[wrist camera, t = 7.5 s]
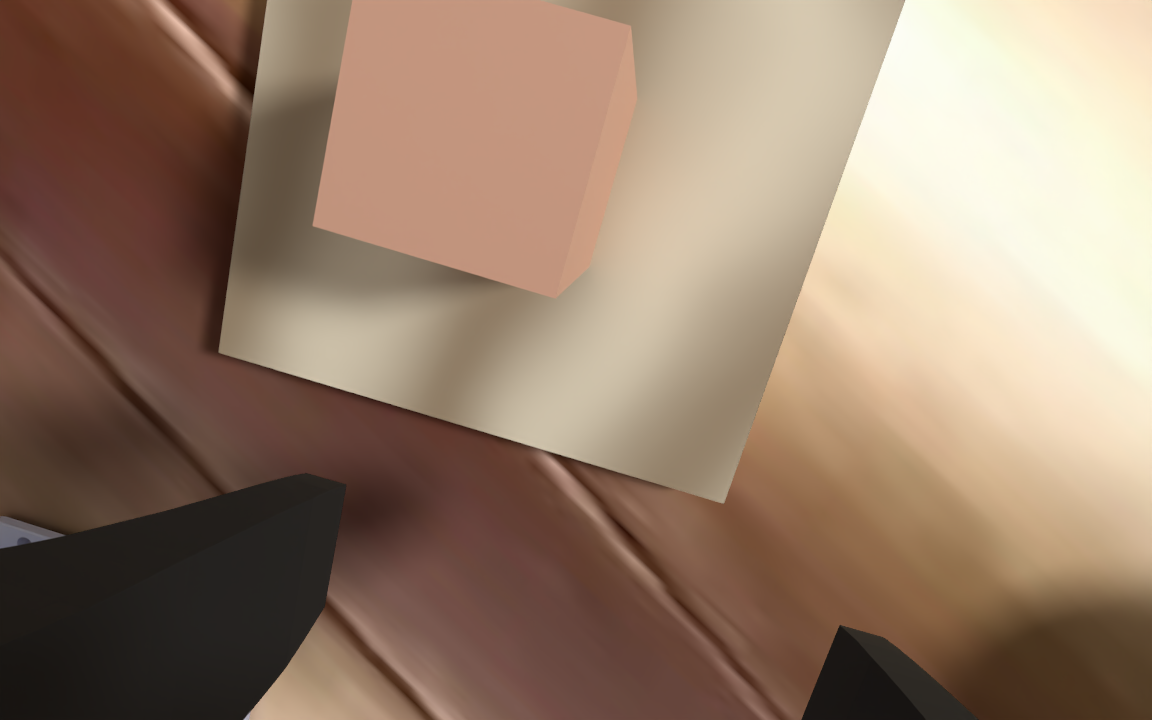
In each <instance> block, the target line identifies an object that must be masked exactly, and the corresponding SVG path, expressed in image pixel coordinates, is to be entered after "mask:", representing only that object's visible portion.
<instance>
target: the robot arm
mask: <svg viewBox="0 0 1152 720" xmlns="http://www.w3.org/2000/svg"><path fill="white" fill-rule="evenodd" d="M345 490H346V484H342V483H339V482H335V481H332V480H328V479H325V478H321V477H318V476H314V475H311V474H307V473H305V474H300V475H294V476H290V477H285V478H281V479H277V480H274V481H270V482H266V483H262V484H259V485H255V486H252V487H248V488H245V489H241V490H238V491H234V492H231V493H227V494H224V495H220V496H217V497H213V498H210V499H206V500H203V501H199V502H196V503H192V504H189V505H185V506H182V507H178V508H175V509H171V510H167V511H164V512H160V513H156V514H152V515H148V516H144V517H140V518H135V519H131V520H127V521H123V522H119V523H115V524H111V525H107V526H103V527H99V528H95V529H91V530H87V531H83V532H79V533H75V534H70V535H63V534H60V533H57V532H54V531H50V530H47V529H44V528H41V527H38V526H35V525H31V524H28V523H25V522H22V521H19V520H15V519H12V518H9V517H4V516H0V720H249V718H250V712H251V710H252V709H253V708H254V706H255V705H256V704H257V703H258V702H259V700H260V699H261V698H262V697H263V695H264V694H265V693H266V692H267V691H268V689H269V688H270V687H271V686H272V684H273V683H274V682H275V681H276V679H277V678H278V677H279V676H280V674H281V673H282V672H283V671H284V669H285V668H286V667H287V665H288V664H289V662H290V660H291V659H292V657H293V656H294V654H295V653H296V651H297V650H298V648H299V647H300V645H301V644H302V642H303V641H304V639H305V637H306V636H307V634H308V633H309V631H310V629H311V628H312V626H313V625H314V623H315V621H316V620H317V618H318V616H319V615H320V613H321V612H322V610H323V608H324V607H325V602H326V596H327V591H328V585H329V579H330V574H331V568H332V563H333V557H334V551H335V546H336V540H337V535H338V529H339V523H340V518H341V512H342V507H343V501H344V495H345ZM30 541H31V542H30ZM802 720H978V719H977V718H976V717H975V716H974V715H973V714H972V713H971V712H970V711H969V710H967V709H966V708H965V707H964V706H963V705H962V704H961V703H960V702H959V701H958V700H956V699H955V698H954V697H953V696H952V695H951V694H950V693H949V692H948V691H947V690H946V689H944V688H943V687H942V686H941V685H940V684H939V683H938V682H937V681H936V680H934V679H933V678H932V677H931V676H930V675H929V674H928V673H927V672H925V671H924V670H923V669H922V668H921V667H920V666H919V665H917V664H916V663H915V662H914V661H913V660H912V659H910V658H909V657H908V656H907V655H906V654H904V653H903V652H902V651H901V650H900V649H898V648H897V647H896V646H894V645H893V644H892V643H890V642H889V641H888V640H886V639H885V638H883V637H880V636H877V635H873V634H870V633H866V632H863V631H859V630H856V629H852V628H849V627H845V626H841V625H840V626H839V628H838V631H837V633H836V636H835V638H834V641H833V643H832V645H831V648H830V650H829V653H828V655H827V658H826V660H825V663H824V665H823V668H822V670H821V673H820V675H819V678H818V680H817V683H816V685H815V688H814V690H813V692H812V695H811V697H810V700H809V702H808V705H807V707H806V710H805V712H804V715H803V717H802Z"/></svg>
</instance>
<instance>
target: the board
mask: <svg viewBox="0 0 1152 720" xmlns="http://www.w3.org/2000/svg"><path fill="white" fill-rule="evenodd" d="M541 1H545V2H548V3H552V4H555V5H559V6H562V7H566V8H569V9H573V10H577V11H580V12H584V13H587V14H591V15H594V16H598V17H602V18H605V19H609V20H612V21H616V22H619V23H623V24H627V25H630V26H631V30H632V42H633V53H634V65H635V76H636V88H637V102H636V105H635V109H634V112H633V116H632V119H631V123H630V126H629V130H628V133H627V137H626V140H625V144H624V147H623V151H622V154H621V158H620V161H619V165H618V168H617V172H616V175H615V179H614V182H613V186H612V189H611V193H610V196H609V200H608V203H607V207H606V210H605V214H604V217H603V221H602V224H601V228H600V231H599V235H598V238H597V242H596V245H595V249H594V252H593V256H592V259H591V262H590V266H589V268H588V269H587V270H585V271H584V272H583V273H582V274H581V275H580V276H579V277H578V278H577V279H576V280H575V281H574V282H573V283H572V284H571V285H570V286H569V287H567V288H566V289H565V290H564V291H563V292H562V293H561V294H560V295H559V296H558V297H557V298H556V299H555V298H551V297H548V296H545V295H541V294H538V293H535V292H531V291H528V290H525V289H521V288H518V287H515V286H511V285H508V284H505V283H501V282H498V281H495V280H491V279H488V278H485V277H481V276H478V275H475V274H471V273H468V272H465V271H461V270H458V269H454V268H451V267H448V266H444V265H441V264H438V263H434V262H431V261H428V260H424V259H421V258H418V257H414V256H411V255H408V254H404V253H401V252H398V251H394V250H391V249H388V248H384V247H381V246H378V245H374V244H371V243H367V242H364V241H361V240H357V239H354V238H351V237H347V236H344V235H341V234H337V233H334V232H331V231H327V230H324V229H321V228H317V227H314V226H313V220H314V214H315V209H316V203H317V197H318V192H319V186H320V180H321V175H322V169H323V163H324V158H325V152H326V146H327V141H328V135H329V130H330V124H331V118H332V113H333V107H334V101H335V96H336V90H337V84H338V79H339V73H340V67H341V62H342V56H343V50H344V45H345V39H346V33H347V28H348V22H349V16H350V11H351V5H352V0H267V5H266V13H265V20H264V27H263V34H262V41H261V49H260V56H259V63H258V70H257V78H256V85H255V92H254V99H253V107H252V114H251V121H250V128H249V135H248V143H247V150H246V157H245V164H244V172H243V179H242V186H241V193H240V200H239V208H238V215H237V222H236V229H235V237H234V244H233V251H232V258H231V265H230V273H229V280H228V287H227V294H226V302H225V309H224V316H223V323H222V331H221V338H220V345H219V352H218V353H221V354H225V355H228V356H231V357H235V358H238V359H241V360H245V361H248V362H251V363H255V364H258V365H261V366H265V367H268V368H271V369H275V370H278V371H282V372H285V373H288V374H292V375H295V376H298V377H302V378H305V379H308V380H312V381H315V382H318V383H322V384H325V385H328V386H332V387H335V388H338V389H342V390H345V391H348V392H352V393H355V394H358V395H362V396H365V397H369V398H372V399H375V400H379V401H382V402H385V403H389V404H392V405H395V406H399V407H402V408H405V409H409V410H412V411H415V412H419V413H422V414H425V415H429V416H432V417H435V418H439V419H442V420H445V421H449V422H452V423H455V424H459V425H462V426H466V427H469V428H472V429H476V430H479V431H482V432H486V433H489V434H492V435H496V436H499V437H502V438H506V439H509V440H512V441H516V442H519V443H522V444H526V445H529V446H532V447H536V448H539V449H542V450H546V451H549V452H552V453H556V454H559V455H563V456H566V457H569V458H573V459H576V460H579V461H583V462H586V463H589V464H593V465H596V466H599V467H603V468H606V469H609V470H613V471H616V472H619V473H623V474H626V475H629V476H633V477H636V478H639V479H643V480H646V481H650V482H653V483H656V484H660V485H663V486H666V487H670V488H673V489H676V490H680V491H683V492H686V493H690V494H693V495H696V496H700V497H703V498H706V499H710V500H713V501H716V502H720V503H723V504H724V502H725V499H726V496H727V493H728V491H729V488H730V485H731V482H732V479H733V477H734V474H735V471H736V468H737V466H738V463H739V460H740V457H741V454H742V452H743V449H744V446H745V443H746V441H747V438H748V435H749V432H750V429H751V427H752V424H753V421H754V418H755V416H756V413H757V410H758V407H759V404H760V402H761V399H762V396H763V393H764V391H765V388H766V385H767V382H768V380H769V377H770V374H771V371H772V368H773V366H774V363H775V360H776V357H777V355H778V352H779V349H780V346H781V343H782V341H783V338H784V335H785V332H786V330H787V327H788V324H789V321H790V318H791V316H792V313H793V310H794V307H795V305H796V302H797V299H798V296H799V294H800V291H801V288H802V285H803V282H804V280H805V277H806V274H807V271H808V269H809V266H810V263H811V260H812V257H813V255H814V252H815V249H816V246H817V244H818V241H819V238H820V235H821V232H822V230H823V227H824V224H825V221H826V219H827V216H828V213H829V210H830V208H831V205H832V202H833V199H834V196H835V194H836V191H837V188H838V185H839V183H840V180H841V177H842V174H843V171H844V169H845V166H846V163H847V160H848V158H849V155H850V152H851V149H852V146H853V144H854V141H855V138H856V135H857V133H858V130H859V127H860V124H861V122H862V119H863V116H864V113H865V110H866V108H867V105H868V102H869V99H870V97H871V94H872V91H873V88H874V85H875V83H876V80H877V77H878V74H879V72H880V69H881V66H882V63H883V60H884V58H885V55H886V52H887V49H888V47H889V44H890V41H891V38H892V36H893V33H894V30H895V27H896V24H897V22H898V19H899V16H900V13H901V11H902V8H903V5H904V2H905V0H541Z"/></svg>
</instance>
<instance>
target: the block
mask: <svg viewBox="0 0 1152 720" xmlns="http://www.w3.org/2000/svg"><path fill="white" fill-rule="evenodd" d="M636 102H637V88H636V76H635V65H634V53H633V42H632V30H631V26H630V25H627V24H623V23H619V22H616V21H612V20H609V19H605V18H602V17H598V16H594V15H591V14H587V13H584V12H580V11H577V10H573V9H569V8H566V7H562V6H559V5H555V4H552V3H548V2H545V1H541V0H352V5H351V11H350V16H349V22H348V28H347V33H346V39H345V45H344V50H343V56H342V62H341V67H340V73H339V79H338V84H337V90H336V96H335V101H334V107H333V113H332V118H331V124H330V130H329V135H328V141H327V146H326V152H325V158H324V163H323V169H322V175H321V180H320V186H319V192H318V197H317V203H316V209H315V214H314V220H313V226H314V227H317V228H321V229H324V230H327V231H331V232H334V233H337V234H341V235H344V236H347V237H351V238H354V239H357V240H361V241H364V242H367V243H371V244H374V245H378V246H381V247H384V248H388V249H391V250H394V251H398V252H401V253H404V254H408V255H411V256H414V257H418V258H421V259H424V260H428V261H431V262H434V263H438V264H441V265H444V266H448V267H451V268H454V269H458V270H461V271H465V272H468V273H471V274H475V275H478V276H481V277H485V278H488V279H491V280H495V281H498V282H501V283H505V284H508V285H511V286H515V287H518V288H521V289H525V290H528V291H531V292H535V293H538V294H541V295H545V296H548V297H551V298H555V299H556V298H557V297H558V296H559V295H560V294H561V293H562V292H563V291H564V290H565V289H566V288H567V287H569V286H570V285H571V284H572V283H573V282H574V281H575V280H576V279H577V278H578V277H579V276H580V275H581V274H582V273H583V272H584V271H585V270H587V269H588V268H589V266H590V262H591V259H592V256H593V252H594V249H595V245H596V242H597V238H598V235H599V231H600V228H601V224H602V221H603V217H604V214H605V210H606V207H607V203H608V200H609V196H610V193H611V189H612V186H613V182H614V179H615V175H616V172H617V168H618V165H619V161H620V158H621V154H622V151H623V147H624V144H625V140H626V137H627V133H628V130H629V126H630V123H631V119H632V116H633V112H634V109H635V105H636Z"/></svg>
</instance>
